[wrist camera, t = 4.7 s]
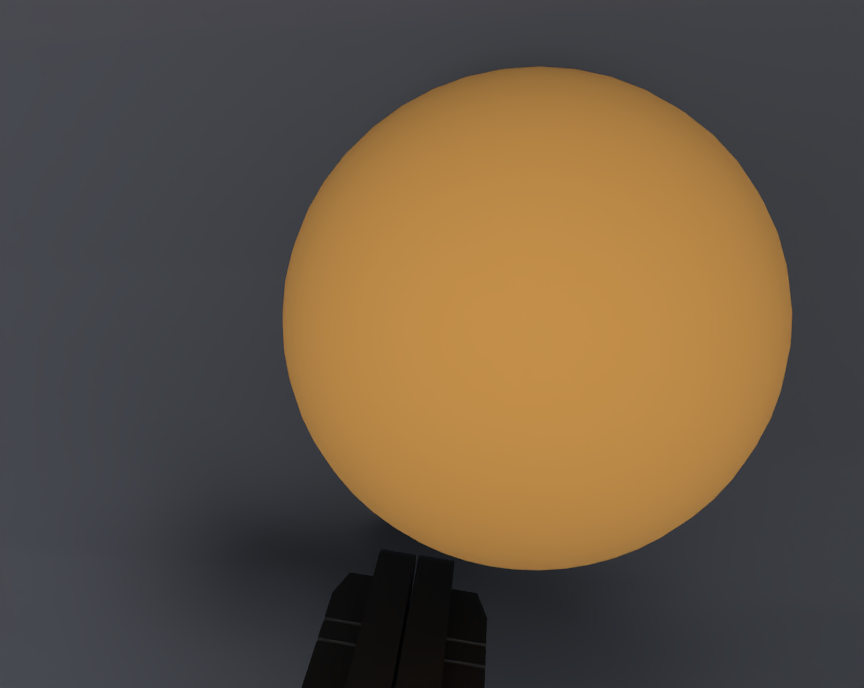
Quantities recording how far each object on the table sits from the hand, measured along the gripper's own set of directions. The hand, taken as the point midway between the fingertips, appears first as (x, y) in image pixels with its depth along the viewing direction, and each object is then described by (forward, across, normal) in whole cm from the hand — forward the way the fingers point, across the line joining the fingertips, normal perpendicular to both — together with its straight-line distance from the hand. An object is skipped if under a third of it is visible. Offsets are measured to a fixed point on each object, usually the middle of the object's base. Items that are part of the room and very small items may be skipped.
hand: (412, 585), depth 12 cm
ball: (-2, -1, -7) cm, 7 cm away
